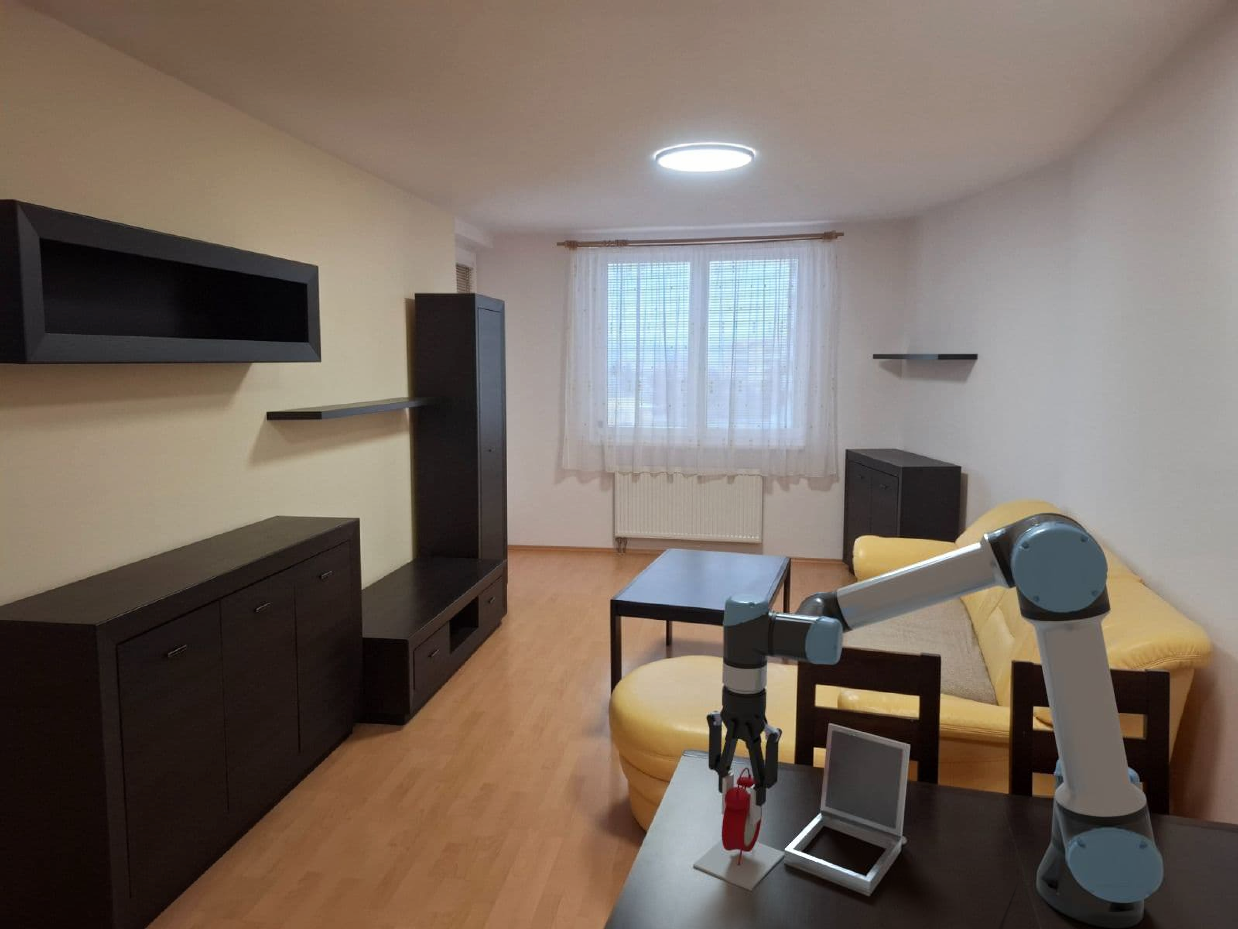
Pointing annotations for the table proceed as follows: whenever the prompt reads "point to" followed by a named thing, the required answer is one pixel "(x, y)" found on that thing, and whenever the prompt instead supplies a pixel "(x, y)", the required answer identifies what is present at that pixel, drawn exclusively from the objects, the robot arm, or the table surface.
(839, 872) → the case
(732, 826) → the alarm clock
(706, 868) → the mat
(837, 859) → the table surface
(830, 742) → the lid
